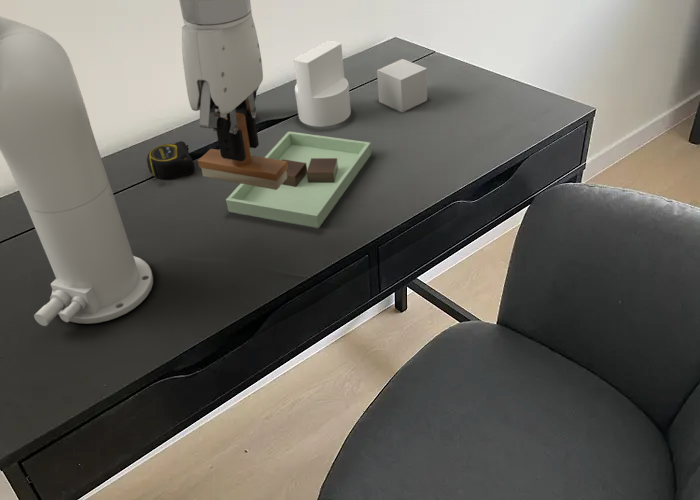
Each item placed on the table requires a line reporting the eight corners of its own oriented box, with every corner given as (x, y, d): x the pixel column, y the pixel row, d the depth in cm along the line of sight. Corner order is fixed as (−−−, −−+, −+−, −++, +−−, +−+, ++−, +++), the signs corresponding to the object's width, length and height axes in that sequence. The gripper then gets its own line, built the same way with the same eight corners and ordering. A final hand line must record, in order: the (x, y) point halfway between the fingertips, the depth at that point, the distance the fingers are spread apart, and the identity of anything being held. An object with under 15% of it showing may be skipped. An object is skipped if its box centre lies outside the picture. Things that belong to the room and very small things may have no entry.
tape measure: (197, 178, 116) (192, 157, 113) (153, 188, 114) (147, 167, 112) (191, 157, 121) (186, 137, 119) (148, 167, 120) (143, 146, 117)
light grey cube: (378, 101, 131) (376, 70, 128) (403, 90, 134) (402, 58, 131) (402, 112, 128) (400, 80, 124) (427, 100, 130) (426, 68, 127)
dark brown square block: (296, 187, 110) (294, 176, 109) (272, 183, 112) (270, 172, 110) (307, 172, 113) (306, 162, 112) (284, 169, 114) (282, 159, 113)
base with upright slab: (328, 135, 123) (321, 67, 116) (288, 122, 128) (278, 56, 121) (361, 113, 128) (356, 46, 121) (321, 101, 133) (314, 36, 126)
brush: (277, 191, 92) (269, 129, 86) (200, 176, 95) (188, 117, 90) (289, 177, 94) (281, 117, 89) (213, 164, 98) (202, 105, 92)
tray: (319, 232, 102) (317, 215, 100) (229, 215, 107) (225, 199, 105) (371, 158, 116) (370, 142, 115) (290, 146, 121) (288, 131, 120)
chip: (334, 182, 110) (333, 172, 109) (307, 182, 111) (306, 172, 110) (338, 168, 113) (337, 158, 112) (312, 168, 114) (311, 158, 113)
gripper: (223, -22, 88) (245, 118, 99) (144, 28, 77) (179, 181, 88) (279, -17, 86) (295, 126, 97) (206, 35, 74) (234, 191, 85)
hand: (240, 151), depth 92 cm, fingers closed on brush, 2 cm apart
